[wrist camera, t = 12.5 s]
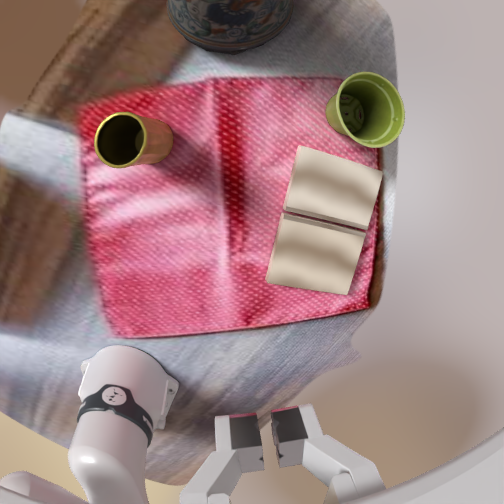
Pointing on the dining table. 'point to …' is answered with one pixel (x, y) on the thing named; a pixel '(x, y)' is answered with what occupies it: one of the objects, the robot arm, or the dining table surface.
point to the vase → (132, 140)
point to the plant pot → (367, 110)
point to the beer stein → (229, 22)
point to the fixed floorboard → (332, 188)
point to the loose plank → (314, 255)
